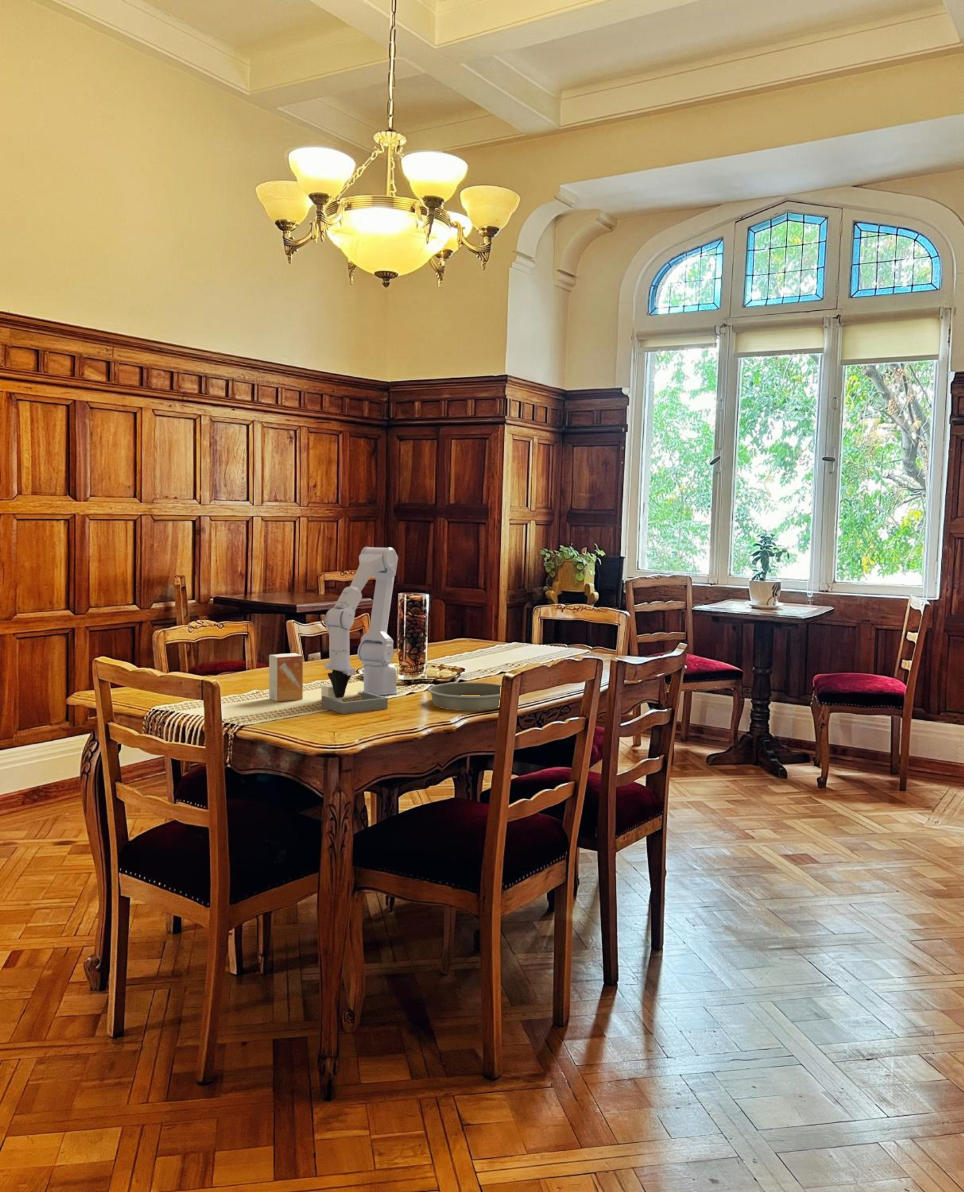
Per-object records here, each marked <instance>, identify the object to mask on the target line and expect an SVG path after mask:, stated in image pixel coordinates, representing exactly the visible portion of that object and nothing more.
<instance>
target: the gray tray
mask: <svg viewBox="0 0 964 1192" xmlns="http://www.w3.org/2000/svg"><path fill="white" fill-rule="evenodd" d="M388 703H389V701H388V697H385V696H384V695H376V694H372V693H369V692H362V694H361V700H353V701H346V702H345V701H339V700H336V699H333V698H330V697H327V696H322V700H321V708H324V709H327V710H330V711H333V712H335V713H338V714H341V715H346V714H354V713H355V714H357V713H362V712H363V713H365V712H373V711H380V710H387V709H389V708H388Z"/></svg>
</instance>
